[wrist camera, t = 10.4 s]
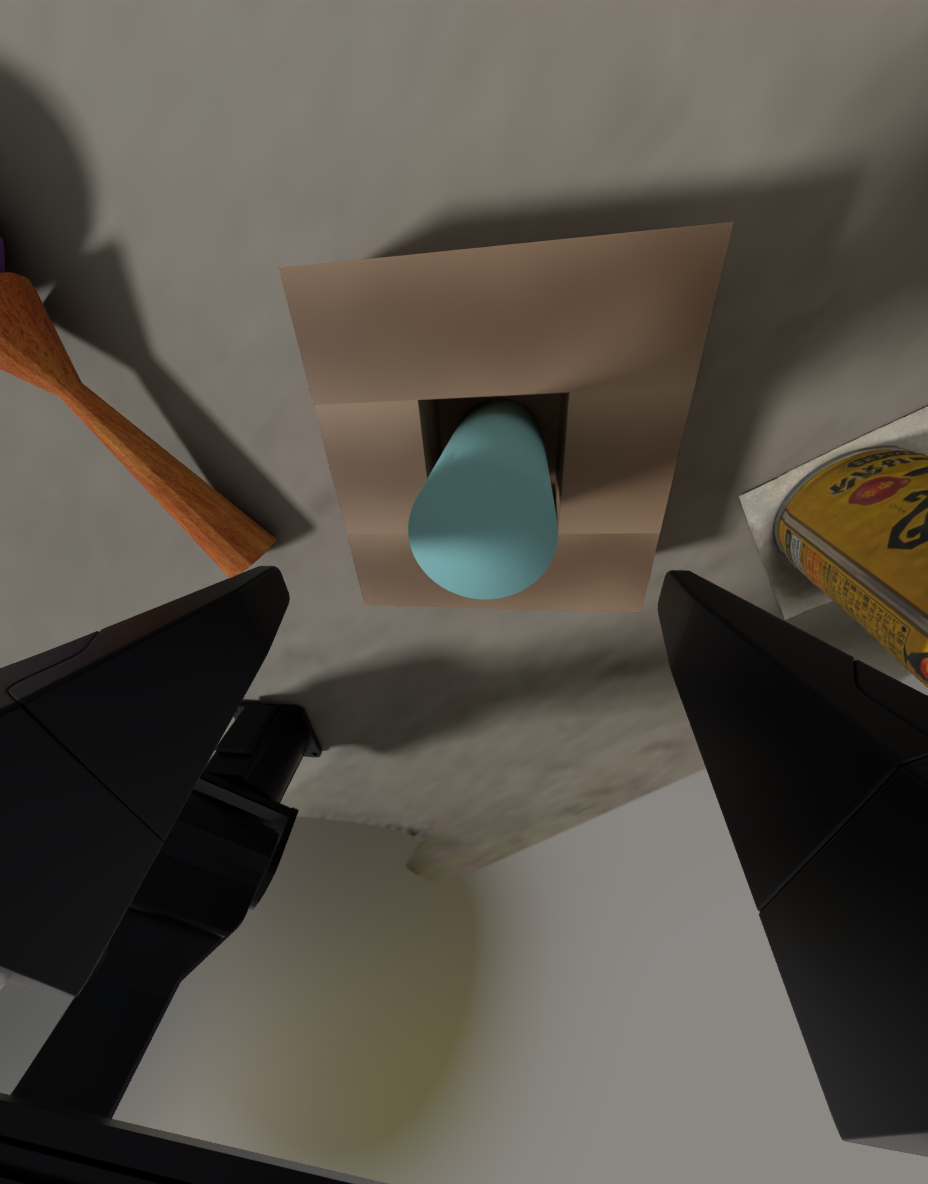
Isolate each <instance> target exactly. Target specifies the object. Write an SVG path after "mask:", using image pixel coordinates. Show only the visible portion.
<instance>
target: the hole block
mask: <svg viewBox="0 0 928 1184" xmlns="http://www.w3.org/2000/svg"><path fill="white" fill-rule="evenodd" d="M733 224H734V222H724V223H714V224H704V225H695V226H685V227H675V228H665V229H656V230H646V231H636V232H626V233H617V234H607V235H597V236H587V237H577V238H568V239H558V240H548V241H538V242H529V243H519V244H509V245H499V246H490V247H480V248H470V249H460V250H451V251H441V252H431V253H421V254H412V255H402V256H392V257H382V258H372V259H363V260H353V261H343V262H333V263H324V264H314V265H304V266H294V267H285V268H279V271H280V275H281V279H282V283H283V287H284V291H285V295H286V299H287V302H288V306H289V310H290V314H291V318H292V322H293V326H294V330H295V334H296V338H297V342H298V346H299V349H300V353H301V357H302V361H303V365H304V369H305V373H306V377H307V381H308V385H309V389H310V392H311V396H312V400H313V404H314V408H315V412H316V416H317V420H318V424H319V428H320V432H321V436H322V439H323V443H324V447H325V451H326V455H327V459H328V463H329V467H330V471H331V475H332V479H333V482H334V486H335V490H336V494H337V498H338V502H339V506H340V510H341V514H342V518H343V522H344V525H345V529H346V533H347V537H348V541H349V545H350V549H351V553H352V557H353V561H354V565H355V569H356V572H357V576H358V580H359V584H360V588H361V592H362V596H363V600H364V604H365V605H380V606H420V607H460V608H500V609H540V610H580V611H620V612H641V611H642V606H643V602H644V598H645V594H646V590H647V585H648V581H649V577H650V573H651V569H652V564H653V560H654V556H655V552H656V548H657V543H658V539H659V535H660V531H661V526H662V522H663V518H664V514H665V510H666V505H667V501H668V497H669V493H670V489H671V484H672V480H673V476H674V472H675V468H676V463H677V459H678V455H679V451H680V447H681V442H682V438H683V434H684V430H685V426H686V421H687V417H688V413H689V409H690V404H691V400H692V396H693V392H694V388H695V383H696V379H697V375H698V371H699V367H700V362H701V358H702V354H703V350H704V346H705V341H706V337H707V333H708V329H709V325H710V320H711V316H712V312H713V308H714V303H715V299H716V295H717V291H718V287H719V282H720V278H721V274H722V270H723V266H724V261H725V257H726V253H727V249H728V245H729V240H730V236H731V232H732V228H733ZM493 398H506V399H511V400H514V401H517V402H519V403H521V404H522V405H524V406H525V407H527V408H528V409H529V410H530V411H531V412H532V413H533V415H534V416H535V417H536V419H537V421H538V422H539V425H540V427H541V430H542V434H543V440H544V446H545V452H546V458H547V464H548V470H549V476H550V482H551V488H552V494H553V500H554V505H555V511H556V517H557V524H558V543H557V549H556V552H555V555H554V558H553V560H552V562H551V564H550V565H549V567H548V568H547V570H546V571H545V573H544V574H543V575H542V576H541V577H540V578H539V579H538V580H537V581H536V582H535V583H533V584H532V585H531V586H529V587H528V588H526V589H524V590H522V591H520V592H519V593H516V594H513V595H511V596H507V597H503V598H498V599H473V598H468V597H464V596H461V595H457V594H455V593H453V592H450V591H448V590H446V589H445V588H443V587H441V586H440V585H438V584H437V583H435V582H434V581H433V580H432V579H431V578H430V577H429V576H428V575H427V574H426V573H425V572H424V571H423V570H422V568H421V567H420V565H419V564H418V563H417V561H416V559H415V557H414V555H413V552H412V550H411V547H410V542H409V537H408V521H409V516H410V512H411V509H412V506H413V504H414V502H415V500H416V498H417V496H418V494H419V493H420V491H421V489H422V488H423V486H424V484H425V482H426V481H427V479H428V477H429V475H430V474H431V472H432V470H433V468H434V467H435V465H436V463H437V461H438V460H439V458H440V456H441V454H442V453H443V451H444V449H445V447H446V446H447V444H448V442H449V440H450V439H451V437H452V435H453V433H454V432H455V430H456V428H457V426H458V425H459V423H460V421H461V419H462V418H463V417H464V415H465V414H466V413H467V412H468V411H469V410H470V409H471V408H472V407H474V406H475V405H477V404H478V403H480V402H483V401H485V400H489V399H493Z"/></svg>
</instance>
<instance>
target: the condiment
mask: <svg viewBox="0 0 928 1184" xmlns="http://www.w3.org/2000/svg"><path fill="white" fill-rule="evenodd" d="M739 499H740V501H741V504H742V507H743V510H744V512H745V515H746V518H747V521H748V524H749V527H750V529H751V531H752V534H753V537H754V540H755V543H756V546H757V548H758V550H759V554H760V556H761V558H762V561H763V564H764V566H765V568H766V571H767V573H768V575H769V579H770V582H771V584H772V587H773V590H774V593H775V596H776V598H777V600H778V603H779V605H780V607H781V610H782V613H783V616H784V619H785V620H786V619H789V618H791V617H793V616H797V615H799V614H801V613H803V612H804V611H806V610H810V609H813V608H815V607H818V606H821V605H823V604H826V603H829V602H832V601H834V602H835V603H836V604H837V605H838V606H840V607H841V608H842V609H843V610H844V611H845V612H846V613H847V614H849V615H850V616H851V617H852V618H853V619H854V620H855V621H856V622H857V623H858V624H860V625H861V626H862V627H863V628H864V629H865V630H866V631H867V632H868V633H869V634H870V635H871V636H872V637H873V638H874V639H876V640H877V641H878V642H879V643H880V644H881V645H882V646H883V647H884V648H885V649H886V650H887V651H888V652H889V653H890V654H891V655H892V656H894V657H895V658H896V659H897V660H898V661H899V662H900V663H902V664H903V665H904V667H905V668H906V669H907V670H908V671H910V672H911V673H912V674H913V675H914V676H915V677H916V678H917V679H919V680H920V682H922V683H923V684H924V685H926V687H928V406H926V407H925V408H923V409H921V410H918V411H916V412H914V413H912V414H910V415H908V416H906V417H904V418H900V419H898V420H896V421H894V422H893V423H891V424H889V425H886V426H884V427H881V428H879V429H877V430H875V431H873V432H870V433H868V434H866V435H864V436H862V437H860V438H858V439H856V440H854V441H851V442H849V443H847V444H845V445H842V446H840V447H838V448H836V449H834V450H832V451H830V452H828V453H826V454H824V455H822V456H820V457H818V458H816V459H814V460H812V461H810V462H808V463H806V464H803V465H801V466H799V467H797V468H795V469H793V470H791V471H789V472H788V473H786V474H784V475H781V476H780V477H778V478H777V479H775V480H773V481H770V482H768V483H766V484H764V485H762V486H760V487H758V488H756V489H754V490H752V491H749V492H747V493H745V494H743V495H741V496H739Z"/></svg>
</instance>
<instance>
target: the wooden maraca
mask: <svg viewBox="0 0 928 1184" xmlns="http://www.w3.org/2000/svg"><path fill="white" fill-rule="evenodd" d="M0 369H1V370H3V371H5V372H7V373H10V374H12V375H14V376H16V377H18V378H20V379H22V380H25V381H27V382H29V383H31V384H33V385H35V386H38V387H40V388H42V389H44V390H46V391H48V392H51V393H53V394H55V395H57V396H59V397H60V398H61V399H62V400H63V401H64V402H65V403H66V404H67V405H68V406H69V408H70V409H71V410H72V411H73V412H74V413H75V414H76V415H77V416H78V417H79V418H80V419H81V420H82V421H83V422H84V423H85V425H86V426H87V427H88V428H89V429H90V430H91V431H92V432H93V433H94V434H95V435H96V436H97V437H98V438H99V439H100V441H101V442H102V443H103V444H104V445H105V446H106V447H107V448H108V449H109V450H110V451H111V452H112V453H113V454H114V455H115V456H116V458H117V459H118V460H119V461H120V462H121V463H122V464H123V465H124V466H125V467H126V468H127V469H128V470H129V471H130V472H131V474H132V475H133V476H134V477H135V478H136V479H137V480H138V481H139V482H140V483H141V484H142V485H143V486H144V487H145V488H146V489H147V491H148V492H149V493H150V494H151V495H152V496H153V497H154V498H155V499H156V500H157V501H158V502H159V503H160V504H161V505H162V507H163V508H164V509H165V510H166V511H167V512H168V513H169V514H170V515H171V516H172V517H173V518H174V519H175V520H176V521H177V522H178V524H179V525H180V526H181V527H182V528H183V529H184V530H185V531H186V532H187V533H188V534H189V535H190V536H191V537H192V538H193V540H194V541H195V542H196V543H197V544H198V545H199V546H200V547H201V548H202V549H203V550H204V551H205V552H206V553H207V554H208V555H209V557H210V558H211V559H212V560H213V561H214V562H215V563H216V564H217V565H218V566H219V567H220V568H221V569H222V570H223V571H224V573H225V574H226V575H227V576H228V577H229V578H231V577H233V576H236V575H238V574H240V573H241V572H243V571H244V570H245V569H247V568H248V567H249V566H251V565H252V564H253V563H254V562H255V561H257V560H258V559H259V558H260V557H261V556H262V555H263V554H264V553H265V552H266V551H267V550H269V548H270V547H271V546H272V545H273V544H274V543H275V541H276V538H274V537H273V536H272V535H271V534H269V533H268V532H267V531H266V530H264V529H263V528H262V527H261V526H259V525H258V524H257V523H256V522H254V521H253V520H252V519H251V518H249V517H248V516H247V515H246V514H244V513H243V512H242V511H241V510H239V509H238V508H237V507H236V506H234V505H233V504H232V503H231V502H229V501H228V500H227V499H226V498H224V497H223V496H222V495H221V494H219V493H218V492H217V491H216V490H214V489H213V488H212V487H211V486H209V485H208V484H207V483H206V482H205V481H203V480H202V479H201V478H200V477H198V476H197V475H196V474H195V473H193V472H192V471H191V470H190V469H188V468H187V467H186V466H185V465H183V464H182V463H181V462H180V461H178V460H177V459H176V458H175V457H173V456H172V455H171V454H170V453H168V452H167V451H166V450H165V449H163V448H162V447H161V446H160V445H158V444H157V443H156V442H155V441H153V440H152V439H151V438H150V437H148V436H147V435H146V434H145V433H143V432H142V431H141V430H140V429H138V428H137V427H136V426H135V425H134V424H132V423H131V422H130V421H129V420H127V419H126V418H125V417H124V416H122V415H121V414H120V413H119V412H117V411H116V410H115V409H114V408H112V407H111V406H110V405H109V404H107V403H106V402H105V401H104V400H102V399H101V398H100V397H99V396H97V395H96V394H95V393H94V392H92V391H91V390H90V389H89V388H87V387H86V386H85V385H84V384H82V382H81V380H80V378H79V376H78V374H77V372H76V370H75V368H74V366H73V364H72V362H71V360H70V358H69V356H68V354H67V352H66V350H65V348H64V346H63V344H62V342H61V340H60V338H59V336H58V334H57V332H56V330H55V328H54V325H53V323H52V321H51V319H50V317H49V315H48V313H47V311H46V309H45V307H44V305H43V303H42V301H41V299H40V297H39V295H38V293H37V291H36V289H35V287H34V286H33V284H32V283H31V282H30V280H29V279H28V278H26V277H24V276H21V275H18V274H15V273H5V255H4V242H3V240H2V238H1V236H0Z"/></svg>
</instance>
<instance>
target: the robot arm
mask: <svg viewBox="0 0 928 1184" xmlns="http://www.w3.org/2000/svg"><path fill="white" fill-rule="evenodd" d="M289 600H290V597H289V592H288V590H287V587H286V584H285V582H284V579H283V576H282V574H281V571H280V570H279V569H278V568H277V567H275V566H259V567H256V568H253V569H251V570H248V571H246V572H243V573H241V574H238V575H236V576H233V577H231V578H229V579H226V580H224V581H221V582H219V583H216V584H214V585H211V586H209V587H206V588H204V589H201V590H199V591H196V592H194V593H191V594H189V595H186V596H184V597H181V598H179V599H176V600H174V601H171V602H169V603H166V604H164V605H161V606H159V607H156V608H154V609H151V610H149V611H146V612H144V613H141V614H139V615H136V616H134V617H131V618H129V619H126V620H124V621H121V622H119V623H116V624H114V625H111V626H109V627H106V628H104V629H102V630H101V631H100V632H99V631H96V632H94V633H91V634H89V635H86V636H84V637H81V638H79V639H76V640H74V641H71V642H68V643H66V644H63V645H61V646H58V647H56V648H53V649H51V650H48V651H45V652H43V653H40V654H37V655H35V656H32V657H29V658H27V659H24V660H21V661H19V662H16V663H13V664H11V665H8V666H5V667H2V668H0V990H1V988H2V987H3V986H4V984H10V985H16V986H21V987H26V988H32V989H37V990H42V991H47V992H53V993H58V994H64V995H69V996H74V998H73V1000H72V1001H71V1003H70V1004H69V1006H68V1007H67V1009H66V1010H65V1012H64V1013H63V1015H62V1016H61V1018H60V1019H59V1021H58V1022H57V1024H56V1025H55V1027H54V1028H53V1030H52V1031H51V1033H50V1035H49V1036H48V1038H47V1039H46V1041H45V1042H44V1044H43V1045H42V1047H41V1048H40V1050H39V1051H38V1053H37V1054H36V1056H35V1057H34V1059H33V1060H32V1062H31V1063H30V1065H29V1066H28V1068H27V1069H26V1071H25V1072H24V1074H23V1076H22V1077H21V1078H20V1080H19V1081H18V1083H17V1085H16V1086H15V1088H14V1089H13V1091H12V1092H11V1094H10V1095H8V1094H3V1093H0V1184H387V1183H383V1182H379V1181H375V1180H370V1179H366V1178H362V1177H358V1176H353V1175H349V1174H345V1173H340V1172H336V1171H332V1170H328V1169H323V1168H319V1167H314V1166H310V1165H306V1164H302V1163H298V1162H294V1161H289V1160H285V1159H281V1158H276V1157H272V1156H268V1155H264V1154H259V1153H255V1152H251V1151H247V1150H242V1149H238V1148H234V1147H229V1146H225V1145H221V1144H216V1143H212V1142H208V1141H204V1140H200V1139H195V1138H191V1137H187V1136H183V1135H178V1134H174V1133H170V1132H165V1131H161V1130H157V1129H152V1128H148V1127H144V1126H139V1125H135V1124H131V1123H127V1122H123V1121H118V1120H114V1119H112V1117H113V1115H114V1113H115V1111H116V1109H117V1107H118V1105H119V1103H120V1101H121V1099H122V1097H123V1095H124V1093H125V1091H126V1089H127V1087H128V1085H129V1083H130V1081H131V1079H132V1077H133V1075H134V1073H135V1071H136V1069H137V1067H138V1065H139V1063H140V1061H141V1059H142V1057H143V1055H144V1053H145V1051H146V1049H147V1047H148V1045H149V1043H150V1041H151V1039H152V1037H153V1035H154V1033H155V1031H156V1029H157V1027H158V1026H159V1023H160V1022H161V1020H162V1017H163V1015H164V1013H165V1012H166V1009H167V1008H168V1006H169V1004H170V1002H171V1000H172V998H173V996H174V994H175V992H176V990H177V988H178V986H179V984H180V982H181V981H182V980H183V979H184V978H185V977H186V976H187V975H188V974H189V973H190V972H192V970H194V969H195V968H196V967H197V966H198V965H199V964H200V963H201V962H202V961H203V960H204V959H205V958H206V957H207V956H208V955H209V954H211V953H212V951H214V950H215V949H216V948H217V947H218V946H219V945H220V944H221V943H222V942H223V941H224V940H225V939H226V938H227V937H228V936H230V935H231V934H232V933H233V932H234V931H235V930H236V929H237V928H238V927H239V926H240V924H241V923H242V921H243V919H244V917H245V915H246V913H247V911H248V909H251V910H252V909H254V908H255V906H256V905H257V904H258V903H259V901H260V899H261V898H262V896H263V895H264V893H265V891H266V889H267V888H268V886H269V884H270V882H271V880H272V878H273V876H274V874H275V872H276V870H277V867H278V865H279V862H280V860H281V857H282V854H283V852H284V849H285V846H286V843H287V841H288V838H289V835H290V833H291V830H292V827H293V824H294V822H295V819H296V816H297V814H298V811H299V810H298V809H295V808H293V807H292V808H290V807H287V806H285V805H283V804H280V802H281V800H282V798H283V796H284V794H285V792H286V790H287V788H288V786H289V784H290V782H291V780H292V778H293V776H294V774H295V772H296V770H297V768H298V766H299V764H300V762H301V760H302V758H303V756H306V757H320V755H321V753H322V749H321V747H320V745H319V742H318V740H317V738H316V736H315V734H314V731H313V729H312V727H311V725H310V722H309V720H308V718H307V716H306V713H305V711H304V710H303V709H302V708H301V707H299V706H287V705H271V704H255V703H241V701H242V700H243V698H244V696H245V694H246V692H247V691H248V689H249V687H250V685H251V683H252V682H253V680H254V678H255V676H256V674H257V672H258V671H259V669H260V667H261V665H262V663H263V662H264V660H265V658H266V656H267V654H268V652H269V650H270V647H271V645H272V643H273V640H274V638H275V636H276V633H277V631H278V628H279V626H280V624H281V621H282V619H283V616H284V614H285V612H286V609H287V607H288V604H289ZM658 614H659V619H660V624H661V628H662V633H663V637H664V642H665V646H666V651H667V656H668V660H669V664H670V668H671V672H672V675H673V678H674V681H675V684H676V686H677V689H678V692H679V695H680V698H681V700H682V703H683V706H684V709H685V711H686V714H687V717H688V720H689V722H690V725H691V728H692V731H693V733H694V736H695V739H696V742H697V744H698V747H699V750H700V753H701V755H702V758H703V761H704V764H705V766H706V769H707V772H708V775H709V777H710V780H711V783H712V786H713V789H714V791H715V794H716V797H717V799H718V802H719V805H720V808H721V811H722V813H723V816H724V819H725V822H726V824H727V827H728V830H729V833H730V835H731V838H732V841H733V844H734V847H735V849H736V852H737V855H738V858H739V860H740V863H741V866H742V869H743V871H744V874H745V877H746V880H747V882H748V885H749V888H750V891H751V893H752V896H753V899H754V902H755V904H756V907H757V909H758V911H760V913H759V916H760V919H761V921H762V925H763V927H764V930H765V933H766V936H767V938H768V941H769V944H770V946H771V950H772V952H773V955H774V958H775V961H776V963H777V966H778V969H779V972H780V974H781V977H782V980H783V983H784V985H785V988H786V991H787V994H788V996H789V999H790V1002H791V1005H792V1007H793V1010H794V1013H795V1016H796V1018H797V1021H798V1024H799V1027H800V1029H801V1032H802V1035H803V1038H804V1041H805V1043H806V1046H807V1049H808V1052H809V1054H810V1057H811V1060H812V1063H813V1065H814V1068H815V1071H816V1073H817V1076H818V1079H819V1082H820V1085H821V1088H822V1090H823V1093H824V1096H825V1099H826V1101H827V1104H828V1107H829V1110H830V1112H831V1115H832V1117H833V1120H834V1123H835V1124H836V1127H837V1130H838V1132H839V1134H840V1136H841V1138H842V1140H844V1141H846V1142H852V1143H858V1144H862V1145H868V1146H873V1147H878V1148H884V1149H889V1150H894V1151H900V1152H905V1153H910V1154H916V1155H921V1156H927V1157H928V696H927V695H925V694H923V693H921V692H919V691H917V690H915V689H913V688H911V687H909V686H907V685H905V684H903V683H902V682H900V681H898V680H896V679H894V678H892V677H890V676H888V675H886V674H884V673H882V672H880V671H878V670H876V669H874V668H873V667H871V666H869V665H867V664H865V663H863V662H861V661H859V660H855V661H854V658H853V657H852V656H850V655H848V654H846V653H844V652H842V651H840V650H838V649H836V648H835V647H833V646H831V645H829V644H827V643H825V642H823V641H821V640H819V639H818V638H816V637H814V636H812V635H810V634H808V633H806V632H804V631H802V630H800V629H799V628H797V627H795V626H793V625H791V624H789V623H787V622H785V621H783V620H782V619H780V618H778V617H776V616H774V615H772V614H770V613H768V612H766V611H765V610H763V609H761V608H759V607H757V606H755V605H753V604H751V603H749V602H747V601H746V600H744V599H742V598H740V597H738V596H736V595H734V594H732V593H730V592H729V591H727V590H725V589H723V588H721V587H719V586H717V585H715V584H713V583H712V582H710V581H708V580H706V579H704V578H702V577H700V576H698V575H696V574H695V573H693V572H691V571H687V570H671V571H669V572H667V574H666V575H665V578H664V582H663V586H662V590H661V593H660V597H659V601H658ZM233 716H234V718H235V721H234V723H233V724H232V725H231V727H230V728H229V730H228V731H227V732H226V734H225V735H224V737H223V738H222V736H223V734H224V732H225V730H226V729H227V727H228V725H229V723H230V721H231V720H232V718H233ZM221 738H222V739H221ZM220 739H221V741H220ZM219 741H220V742H219ZM218 743H219V744H218ZM214 750H215V751H216V752H215V753H214V755H213V756H212V754H213V752H214ZM211 756H212V758H211ZM210 758H211V759H210ZM209 759H210V760H209ZM208 761H209V762H208Z"/></svg>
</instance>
